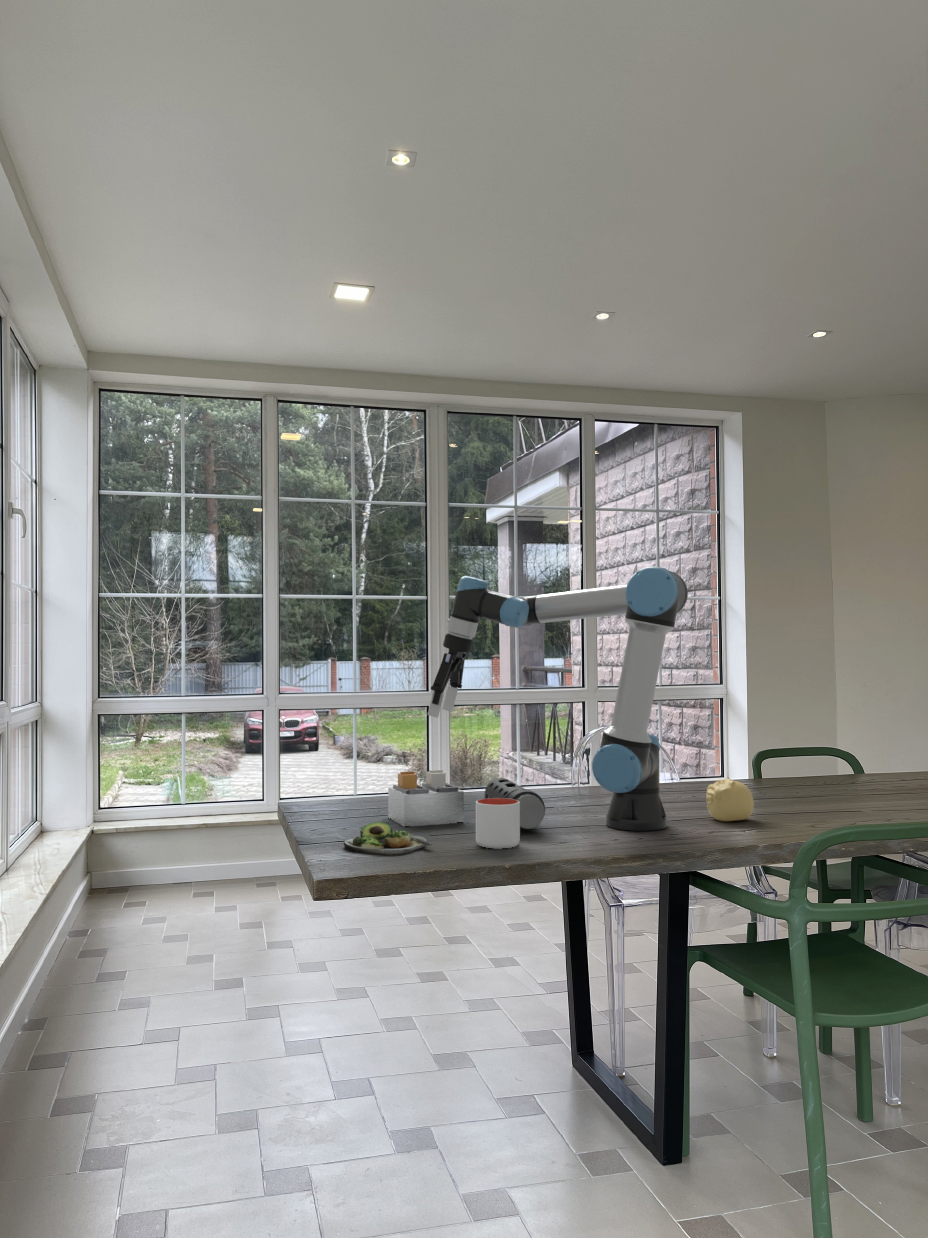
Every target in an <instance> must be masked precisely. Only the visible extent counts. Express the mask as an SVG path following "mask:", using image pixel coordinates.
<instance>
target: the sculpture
mask: <svg viewBox="0 0 928 1238" xmlns="http://www.w3.org/2000/svg"><path fill="white" fill-rule="evenodd" d="M753 797H754V796H753V794H752V792H751V790H750V789H749V787H748V786H747V785H746V784H744V783H742V782H740V781H736V780H732V779H731V778H726V779H717V780H716V781H714V783H710V784H708V786H707V788H706V794H705V801H706V803H707V804H706V808H707V810H708V813H709V814H710V816H711V817H713V819H715V820H717V821H720V822H734V821H743V820H748V819H750V817H751V816H752V813H753V810H754V805H755V803H754V798H753Z"/></svg>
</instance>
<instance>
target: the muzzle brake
mask: <svg viewBox="0 0 928 1238" xmlns="http://www.w3.org/2000/svg"><path fill="white" fill-rule="evenodd" d="M487 798H507V799H515V800H518V801H519V802H520V831H531V830H533V829H535V828H537V827H538V826H540V824H541V823H542V822H543V820H544V817H545V814H546V805H545V803H544V800H543V798H542V797H541V796H540V795H539V794H537V793H536V792H534V791H532V790H531V789H527V788H524V787H522V786H521V785H519V784H517V783H515V782H513V781H511V780H509V779H508V778H504V777H499V778H495V779H493V780H490V781H489V782H488V784H487V785H486V788H485V790H484V799H487Z"/></svg>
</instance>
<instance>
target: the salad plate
mask: <svg viewBox="0 0 928 1238" xmlns="http://www.w3.org/2000/svg"><path fill="white" fill-rule="evenodd" d="M359 833H360V834H359V835H360V836H359V835H358V836H356V837H353V838H351V839H346V840H344V842H343V846H344V848H345V849H346V850H347V851H350V852H355V853H363V854H372V855H403V854H404V855H405V854H409V853H411V852H415V851H417V850H420V848H421V849H422V848H424V847H427V846H432V845H433V843H432V842H428V841H427V839H426V838H425V837H423V836H418V835H417V836H415V835H413V833H410V831H406V830H393V827H391V825H390V824H388V823H386V822H380V821H375V822H370V823H368V824H366V825H364V826H363V827H362V828H361V829H360V831H359ZM414 850H415V851H414ZM408 852H409V853H408Z"/></svg>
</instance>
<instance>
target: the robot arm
mask: <svg viewBox="0 0 928 1238" xmlns="http://www.w3.org/2000/svg"><path fill="white" fill-rule="evenodd" d="M688 592H689V591H688V587H687V584H686V582H685V581H684V579H683V577H681V576H680V575H679V574H677V573H675V571H674V572H673V571H671V570H668V569H667V568H664V567H661V566H647V567H643V568H641V569H639V570H637V571H635V573H633V574H632V575H631V577H629V579H628V581H627V584H622V585H621V584H620V585H614V586H613V585H611V586H604V587H596V588H587V589H578V590H570V591H569V590H568V591H563V592H554V593H544V594H538V595H529V596H528V595H527V596H518V595H511V594H510V595H509V594H504V593H502V592H497V591H493V590H492V589H491V590H490V589H489V582H488V581H487V580H484V579H480V578H477V577H473V576H469V575H464V576H462V577H461V578H460V579H459V583H458V586H457V588H456V591H455V596H454V601H453V605H452V609H451V612H450V616H449V618H448V619H446V622H447V623H448V625H447V628H446V631H447V632H446V633H445V635H444V640H443V642H442V645H443V647H444V648H446V649H448V652H446V653H445V652H444V653H443V657H442V660H441V663H440V665H439V669H438V671H437V673H436V675H435V679H434V681H433V684H432V686H430V690H431V691H432V696H431V700H430V704H429V706H428V707H429V708H428V712H427V716H430V717H433V718H437V719H438V718H439V716H440V712H441V710H445V711H447V712H451V713H452V712H453V710H454V706H455V702H456V697H457V694H458V690H459V689H462V687H463V685H462V682H463V674H464V668H465V662H466V661H465V660H466V656H467V654H470V653H471V652H472V648H473V645H474V638H475V637H476V634H477V629H478V626H479V622H480V619H481V618H482V619H483V620H484V619H485V620H488V621H491V622H495V623H498V624H502V625H504V626H506V627H510V628H511V627H512V628H517V629H518V628H519V629H520V628H521V627H525V626H526V627H527V626H533V625H537V624H538V625H539V624H543V623H544V624H545V623H554V622H563V621H571V620H572V621H573V620H582V619H583V620H584V619H585V620H586V619H592V618H593V619H594V618H603V617H613V616H623V615H624V616H625V617H624V620H625V622H626V623H627V625H628V626H629V632H628V637H627V640H626V646H625V650H624V657H623V660H622V661H623V662H622V667H621V673H620V678H619V682H618V688H617V692H616V697H615V698H616V699H615V703H614V708H613V712H612V713H613V714H612V719H611V724H610V725H609V726H607V727H606V728H605V729H603V732H602V737H601V742H600V745H599V747H600V748H598V750H597V751H596V752H595V754H594V756H593V758H592V760H591V761H592V763H591V770H592V774H593V777H594V779H595V781H596V783H598V785H599V786H601V787H602V788H603V789H604V790H606V791H608V792H611V793H612V796H611V798H610V802H609V806H608V809H607V812H606V815H605V825H606V826H607V827H609V828H613V829H617V830H623V831H636V832H637V831H639V832H641V831H642V832H643V831H644V832H645V831H646V832H647V831H649V832H650V831H658V830H663V829H666V828H667V826H668V817H667V814H666V811H665V809H664V806H663V805H664V804H663V802H662V799H661V796H660V795H661V794H660V751H661V747H660V742H659V738H658V737H657V735H654V734H649V733H648V728H649V721H650V718H651V717H650V716H651V711H652V707H653V702H654V701H653V700H654V697H655V692H656V687H657V681H658V677H659V671H660V665H661V661H662V656H663V651H664V646H665V641H666V637H667V636H666V635H667V634H668V633H669V632H671V631H672V630H673V629H674V628H675V624H676V618H677V614H679V613H680V612H681V611H682V610H683V609H684V607H685V606H686V603H687V600H688V595H689V593H688ZM448 684H449V685H448ZM447 685H448V686H447ZM446 687H447V689H446ZM445 690H446V692H445V693H444V691H445ZM444 695H445V696H444ZM444 697H445V698H444ZM443 699H444V700H443Z"/></svg>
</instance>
